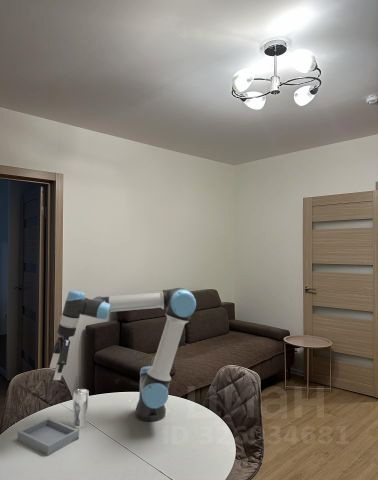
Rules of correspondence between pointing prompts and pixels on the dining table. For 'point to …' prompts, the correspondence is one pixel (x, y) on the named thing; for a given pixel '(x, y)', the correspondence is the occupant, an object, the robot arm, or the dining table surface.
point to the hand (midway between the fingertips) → (54, 373)
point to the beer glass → (80, 407)
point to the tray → (48, 436)
